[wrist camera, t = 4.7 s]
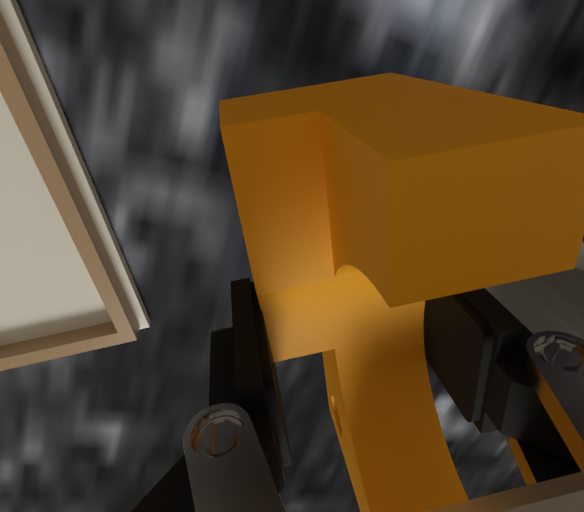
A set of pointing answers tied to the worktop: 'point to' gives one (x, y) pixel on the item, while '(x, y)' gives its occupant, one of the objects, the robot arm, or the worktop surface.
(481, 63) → the worktop surface
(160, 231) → the worktop surface
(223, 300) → the worktop surface
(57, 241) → the shallow rimmed tray
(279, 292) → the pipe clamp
